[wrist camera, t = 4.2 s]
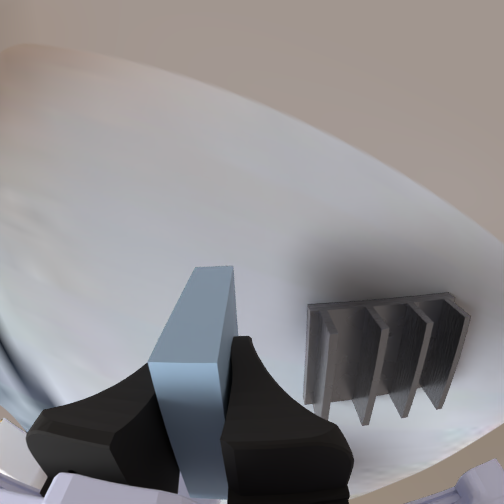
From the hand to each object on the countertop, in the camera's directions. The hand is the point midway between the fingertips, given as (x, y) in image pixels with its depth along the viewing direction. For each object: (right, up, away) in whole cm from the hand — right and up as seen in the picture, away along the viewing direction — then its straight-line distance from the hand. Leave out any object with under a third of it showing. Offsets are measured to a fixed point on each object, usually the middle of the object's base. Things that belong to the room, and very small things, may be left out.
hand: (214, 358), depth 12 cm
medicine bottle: (-26, -20, +15) cm, 36 cm away
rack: (+11, -3, +10) cm, 15 cm away
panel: (0, +1, +2) cm, 2 cm away
